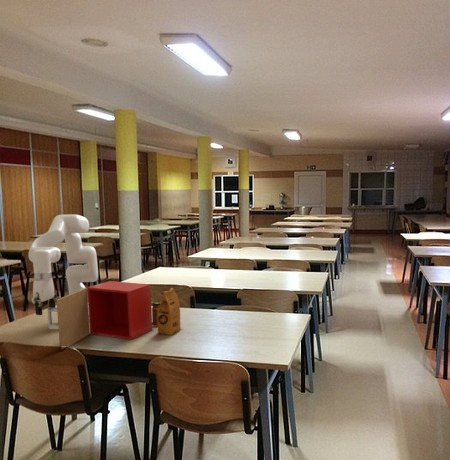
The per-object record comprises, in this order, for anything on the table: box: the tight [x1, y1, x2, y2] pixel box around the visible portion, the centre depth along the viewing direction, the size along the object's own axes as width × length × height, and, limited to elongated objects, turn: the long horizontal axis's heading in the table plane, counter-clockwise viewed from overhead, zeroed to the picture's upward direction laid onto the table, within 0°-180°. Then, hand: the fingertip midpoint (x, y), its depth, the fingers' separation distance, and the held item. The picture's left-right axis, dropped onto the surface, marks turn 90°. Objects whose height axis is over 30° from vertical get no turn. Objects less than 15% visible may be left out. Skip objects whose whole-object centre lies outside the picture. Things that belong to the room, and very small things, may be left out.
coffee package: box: [157, 287, 182, 336], centre depth 251 cm, size 10×12×22 cm
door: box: [46, 287, 91, 348], centre depth 237 cm, size 8×26×24 cm, turn 167°
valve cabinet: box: [86, 280, 153, 341], centre depth 252 cm, size 18×26×24 cm
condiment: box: [151, 301, 162, 328], centre depth 266 cm, size 7×8×12 cm
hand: (45, 312), depth 227 cm, fingers open, 9 cm apart
